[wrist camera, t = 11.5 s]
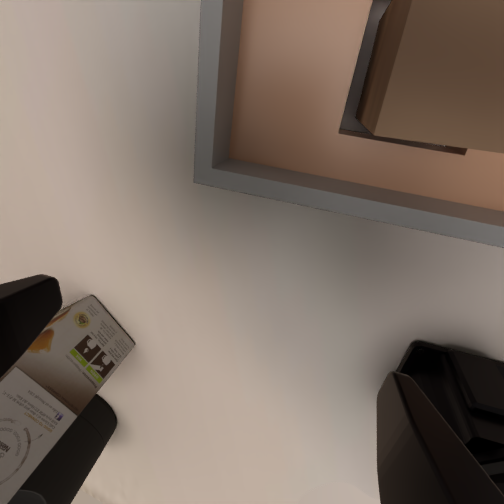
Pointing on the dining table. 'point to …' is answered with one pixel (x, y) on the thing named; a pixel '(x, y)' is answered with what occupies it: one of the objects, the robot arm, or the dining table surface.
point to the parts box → (323, 125)
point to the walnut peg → (438, 74)
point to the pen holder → (70, 458)
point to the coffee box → (54, 386)
